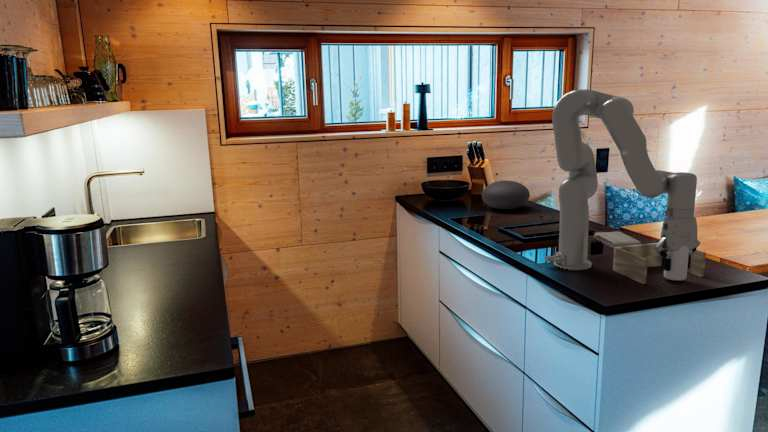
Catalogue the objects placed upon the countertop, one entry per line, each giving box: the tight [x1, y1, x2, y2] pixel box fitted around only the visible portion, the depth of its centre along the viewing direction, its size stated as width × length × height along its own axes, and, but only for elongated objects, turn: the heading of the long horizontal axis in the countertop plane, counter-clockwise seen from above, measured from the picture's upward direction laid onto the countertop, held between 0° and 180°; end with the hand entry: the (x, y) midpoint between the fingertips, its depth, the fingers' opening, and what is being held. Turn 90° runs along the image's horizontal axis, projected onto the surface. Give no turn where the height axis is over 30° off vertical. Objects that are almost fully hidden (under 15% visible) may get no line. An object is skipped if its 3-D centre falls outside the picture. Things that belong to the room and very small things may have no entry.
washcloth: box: [593, 230, 642, 249], centre depth 222 cm, size 12×18×3 cm, turn 7°
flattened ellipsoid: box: [481, 179, 531, 210], centre depth 291 cm, size 25×25×15 cm
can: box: [663, 243, 689, 282], centre depth 174 cm, size 6×6×12 cm
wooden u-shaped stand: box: [612, 242, 707, 285], centre depth 182 cm, size 22×15×8 cm
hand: (675, 268), depth 174 cm, fingers closed on can, 6 cm apart
